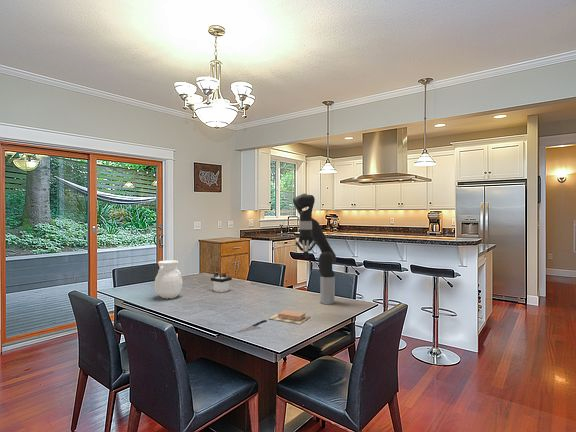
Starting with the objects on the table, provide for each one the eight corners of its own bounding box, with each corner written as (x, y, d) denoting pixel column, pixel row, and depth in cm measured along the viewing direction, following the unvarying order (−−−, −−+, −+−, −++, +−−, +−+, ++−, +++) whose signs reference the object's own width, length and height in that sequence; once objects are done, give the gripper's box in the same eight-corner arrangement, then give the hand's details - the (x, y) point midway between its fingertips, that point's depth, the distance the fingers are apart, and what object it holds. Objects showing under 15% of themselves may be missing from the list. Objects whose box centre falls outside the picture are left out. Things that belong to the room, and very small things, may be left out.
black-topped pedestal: (246, 290, 270) (246, 272, 269) (222, 297, 248) (222, 278, 248) (219, 285, 285) (219, 269, 285) (194, 292, 263) (194, 274, 263)
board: (268, 319, 196) (268, 318, 196) (280, 312, 208) (280, 311, 208) (299, 324, 187) (299, 323, 187) (310, 317, 199) (310, 316, 199)
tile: (278, 313, 196) (299, 316, 190) (284, 309, 203) (305, 312, 197) (278, 317, 196) (299, 321, 190) (284, 314, 204) (305, 317, 197)
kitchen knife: (278, 323, 189) (263, 320, 195) (278, 322, 189) (263, 319, 195) (241, 340, 165) (225, 336, 171) (241, 339, 165) (225, 335, 171)
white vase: (166, 293, 259) (166, 259, 258) (188, 295, 253) (187, 260, 252) (148, 299, 241) (148, 262, 241) (171, 301, 235) (170, 263, 235)
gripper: (317, 228, 213) (317, 257, 213) (295, 228, 214) (295, 256, 215) (316, 229, 205) (316, 258, 205) (293, 228, 207) (294, 258, 207)
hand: (305, 257), depth 210 cm, fingers closed
